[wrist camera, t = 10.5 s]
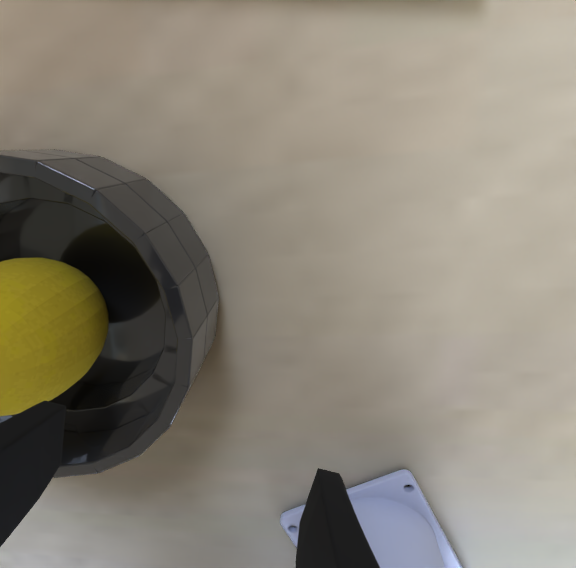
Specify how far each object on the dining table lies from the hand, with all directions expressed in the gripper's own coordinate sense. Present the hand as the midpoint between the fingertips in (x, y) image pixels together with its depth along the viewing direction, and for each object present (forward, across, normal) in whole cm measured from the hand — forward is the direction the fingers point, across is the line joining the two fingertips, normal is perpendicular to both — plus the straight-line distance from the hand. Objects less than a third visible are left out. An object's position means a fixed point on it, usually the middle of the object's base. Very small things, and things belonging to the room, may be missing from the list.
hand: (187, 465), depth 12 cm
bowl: (+9, +8, 0) cm, 12 cm away
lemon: (+9, +8, 0) cm, 12 cm away
